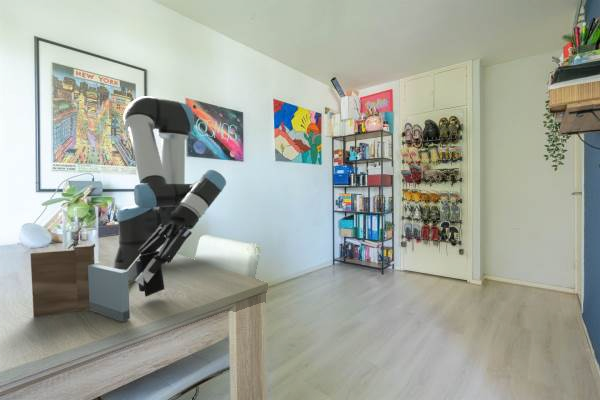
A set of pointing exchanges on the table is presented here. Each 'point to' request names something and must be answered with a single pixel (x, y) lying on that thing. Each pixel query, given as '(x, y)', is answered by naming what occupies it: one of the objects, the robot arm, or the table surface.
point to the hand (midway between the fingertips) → (133, 280)
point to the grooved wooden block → (61, 280)
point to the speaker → (157, 279)
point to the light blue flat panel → (109, 291)
